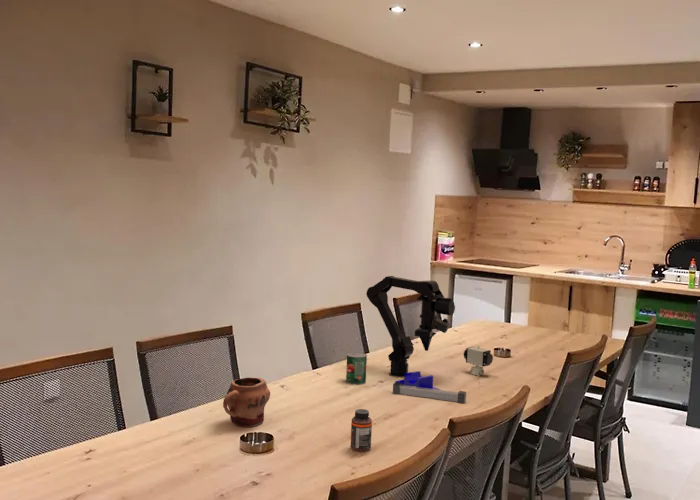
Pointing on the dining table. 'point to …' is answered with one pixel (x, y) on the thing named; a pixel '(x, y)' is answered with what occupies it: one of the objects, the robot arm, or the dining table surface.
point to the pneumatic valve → (478, 359)
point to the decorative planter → (247, 401)
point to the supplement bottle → (361, 431)
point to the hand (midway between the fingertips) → (426, 350)
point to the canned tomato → (356, 368)
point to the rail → (429, 393)
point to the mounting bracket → (417, 380)
